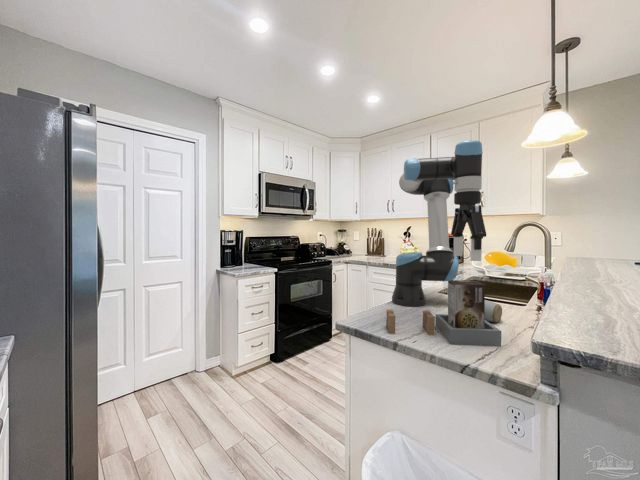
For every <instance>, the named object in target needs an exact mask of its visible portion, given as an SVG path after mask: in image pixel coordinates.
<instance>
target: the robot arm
mask: <svg viewBox="0 0 640 480" xmlns="http://www.w3.org/2000/svg"><path fill="white" fill-rule="evenodd" d="M482 164H483V144H482V142H481V141H480V140H476V139H471V140H465V141H460V142H459V143H456V145H455V148H454V156H443V157H442V156H440V157H428V158H427V157H425V158H416V157H415V158H411V159H406V160H405V161H404V164H403V174H402V175H401V176H400V178H399V180H398V184H399V187H400V189H401V191H403V192H405V193H407V194H410V195H415V196H416V195H417V196H421V195H423V200H424V201H426V203H427V223H428V224H427V226H428V227H427V229H428V249H427V250H426V251H425V255H423V252H419V251H418V252H417V251H416V252H405V253H400V254H398V255H397V256H396V260H395V287H394V290H393V292H392V296H391V302H392V304H395V305H398V306H403V307H423V306H425V305H426V303H427V302H426V301H427V299H426V296H425V293H424V289H423V286H422V285H423V281H428V282H448V280H455V279H456V277H457V276H458V271H459V257H462V256H463V252H464V251H463V250H464V249H463V248H464V245H463V243H464V242H463V241H464V234H463V233H464V231H465V227H466V225H468V228H469V231H470V262H474V261H475V262H482V249H483V247H482V246H483V245H482V244H483V243H482V241H483V239H484V238H485V237H487V232H486V225H485V221H484V218H483V214H482V210H483V209H482V205H479V204H481V202H482V192H481V190H482V185H483V183H482V182H483V181H482V180H483V178H482V168H483V165H482ZM453 191H454V192H455V193H454V195H453V199H454V200H453V204H454V205H458V206H459V207H455V208H454V217H453V220H452V221H453V222H452V226H451V231H450V232H451V233H450V234H451V235H452V236H453V250H452V249H451V248H450V238H449V237H450V236H449V223H448V222H449V221H448V203H447V200H448V198H450V196H451V195H450V194H453Z"/></svg>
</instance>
